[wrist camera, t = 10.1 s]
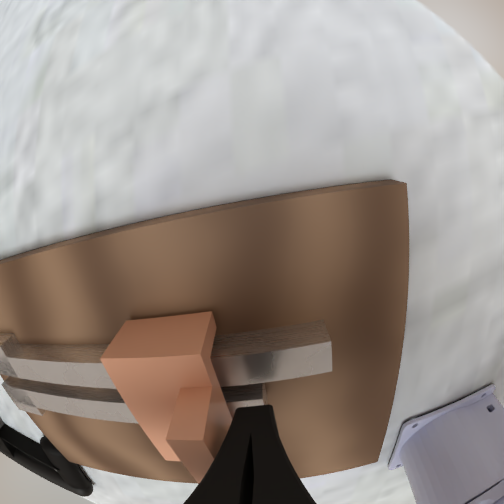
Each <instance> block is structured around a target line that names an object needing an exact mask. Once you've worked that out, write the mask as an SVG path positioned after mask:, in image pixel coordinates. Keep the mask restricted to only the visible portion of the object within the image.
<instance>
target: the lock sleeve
mask: <svg viewBox="0 0 504 504" xmlns="http://www.w3.org/2000/svg"><path fill="white" fill-rule="evenodd" d="M216 328H217V327H216V323H215V320H214V316H213V313H212V311H209V312H201V313H193V314H184V315H176V316H167V317H158V318H148V319H137V320H127V321H125V323H124V324H123V326H122V327H121V329H120V330H119V331H118V333H117V334H116V336H115V337H114V339H113V340H112V341H111V343H110V344H109V346H108V347H107V349H106V350H105V352H104V353H103V355H102V356H101V358H100V360H101V362H102V364H103V365H104V367H105V369H106V371H107V373H108V375H109V376H110V378H111V380H112V382H113V383H114V385H115V387H116V389H117V390H118V392H119V394H120V395H121V397H122V399H123V400H124V402H125V403H126V405H127V407H128V408H129V410H130V411H131V413H132V414H133V416H134V417H135V419H136V420H137V422H138V423H139V425H140V426H141V428H142V429H143V431H144V432H145V433H146V435H147V436H148V438H149V439H150V440H151V442H152V443H153V444H154V446H155V447H156V448H157V450H158V451H159V452H160V454H161V455H162V456H163V458H164V459H165V460H167V461H181V462H182V463H183V465H184V466H185V467H186V469H187V470H188V471H189V472H190V474H191V475H192V476H193V478H194V479H195V480H196V481H197V483H198V484H199V483H200V482H201V480H202V479H203V477H204V476H205V474H206V473H207V471H208V469H209V468H210V466H211V464H212V462H213V461H214V459H215V457H216V455H217V453H218V451H219V449H220V447H221V445H222V443H223V441H224V439H225V437H226V434H227V432H228V430H229V427H230V425H231V422H232V417H231V414H230V412H229V409H228V406H227V404H226V401H225V398H224V396H223V393H222V390H221V387H220V385H219V382H218V379H217V376H216V373H215V370H214V368H213V365H212V362H211V359H210V356H211V351H212V347H213V342H214V337H215V333H216Z"/></svg>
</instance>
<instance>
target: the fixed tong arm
mask: <svg viewBox="0 0 504 504" xmlns="http://www.w3.org/2000/svg"><path fill="white" fill-rule="evenodd" d="M108 346H109V344H84V345H48V344H20V343H19V342H18V340H17V338H16V336H15V334H14V333H0V374H2V375H6V376H11V377H16V378H22V379H28V380H34V381H40V382H47V383H54V384H62V385H71V386H82V387H94V388H110V389H116V387H115V385H114V383H113V382H112V380H111V378H110V376H109V375H108V373H107V371H106V369H105V367H104V365H103V364H102V362H101V360H100V358H101V356H102V355H103V353H104V352H105V350H106V349H107V347H108ZM210 359H211V362H212V365H213V368H214V370H215V373H216V376H217V379H218V382H219V385H220V387H227V386H238V385H248V384H257V383H265V382H272V381H279V380H286V379H293V378H299V377H305V376H310V375H316V374H321V373H326V372H331V371H332V347H331V339H330V336H329V334H328V331H327V328H326V326H325V323H324V320H318V321H312V322H307V323H301V324H295V325H289V326H283V327H277V328H270V329H263V330H257V331H249V332H242V333H234V334H226V335H218V336H215V337H214V342H213V347H212V351H211V356H210Z"/></svg>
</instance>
